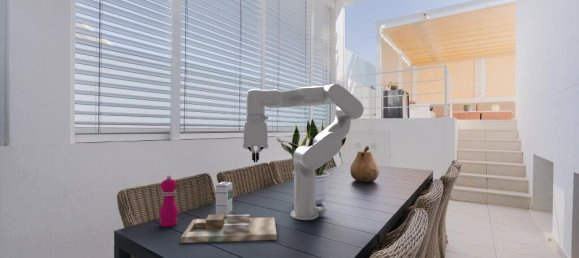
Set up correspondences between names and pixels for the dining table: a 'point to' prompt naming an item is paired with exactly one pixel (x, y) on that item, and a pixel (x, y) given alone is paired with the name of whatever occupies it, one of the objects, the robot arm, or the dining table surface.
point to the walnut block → (215, 221)
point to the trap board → (231, 230)
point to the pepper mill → (168, 203)
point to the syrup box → (224, 198)
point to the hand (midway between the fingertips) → (255, 161)
